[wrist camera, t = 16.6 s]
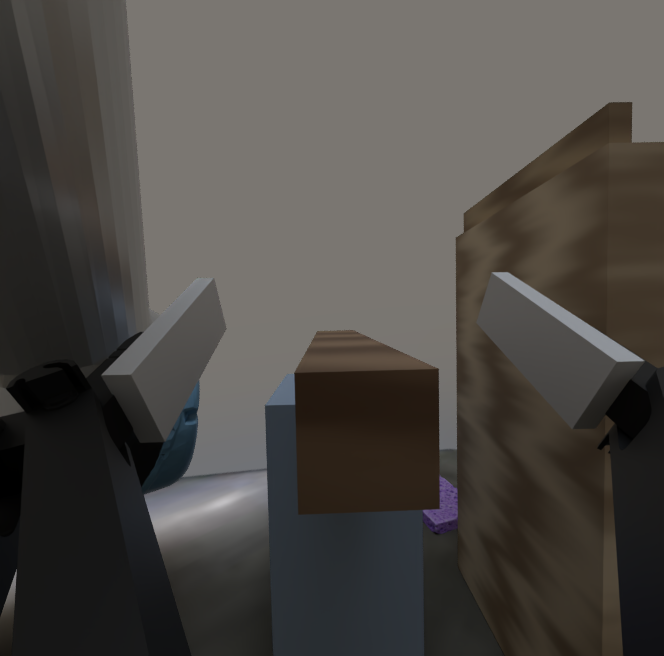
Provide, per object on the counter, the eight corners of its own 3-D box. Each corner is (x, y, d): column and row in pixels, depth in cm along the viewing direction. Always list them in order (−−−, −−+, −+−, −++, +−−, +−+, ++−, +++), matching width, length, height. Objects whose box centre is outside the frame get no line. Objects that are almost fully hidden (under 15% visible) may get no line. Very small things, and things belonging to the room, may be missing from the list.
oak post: (769, 827, 13) (797, 91, 12) (599, 836, 13) (609, 93, 12) (540, 563, 27) (542, 214, 26) (457, 566, 27) (455, 215, 26)
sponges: (420, 469, 45) (420, 458, 45) (486, 524, 33) (486, 508, 33) (381, 478, 43) (380, 466, 43) (435, 540, 31) (435, 523, 31)
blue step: (424, 675, 19) (421, 401, 18) (274, 682, 19) (265, 405, 18) (390, 551, 29) (387, 371, 28) (292, 555, 29) (287, 374, 28)
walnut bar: (439, 509, 8) (438, 369, 8) (298, 514, 8) (294, 372, 8) (353, 365, 32) (353, 330, 32) (318, 366, 32) (317, 331, 32)
